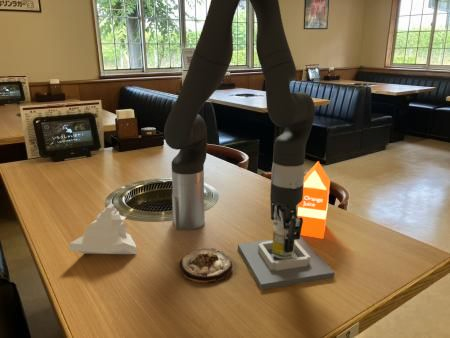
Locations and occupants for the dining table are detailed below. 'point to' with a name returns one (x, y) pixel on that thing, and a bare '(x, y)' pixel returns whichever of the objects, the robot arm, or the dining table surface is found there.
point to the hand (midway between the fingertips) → (283, 244)
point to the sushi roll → (205, 265)
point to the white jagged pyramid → (105, 235)
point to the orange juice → (314, 202)
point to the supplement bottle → (280, 241)
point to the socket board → (284, 264)
